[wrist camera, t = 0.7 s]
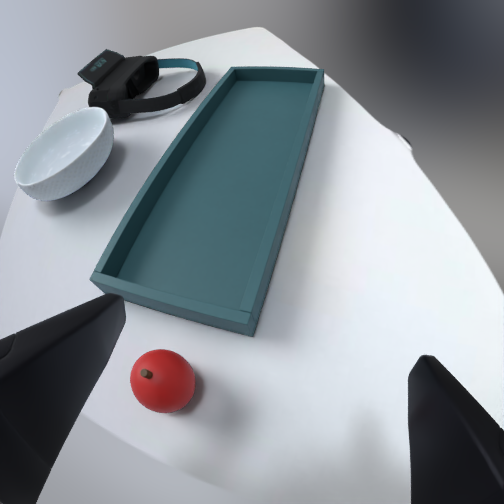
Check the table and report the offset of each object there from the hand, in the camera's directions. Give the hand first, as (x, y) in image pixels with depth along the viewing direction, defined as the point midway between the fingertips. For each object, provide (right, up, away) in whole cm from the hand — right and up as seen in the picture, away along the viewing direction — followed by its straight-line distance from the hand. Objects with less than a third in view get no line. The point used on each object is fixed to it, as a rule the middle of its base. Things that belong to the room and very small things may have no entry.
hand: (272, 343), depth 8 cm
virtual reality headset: (-19, +32, +44) cm, 57 cm away
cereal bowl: (-27, +14, +33) cm, 45 cm away
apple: (-7, -9, +15) cm, 19 cm away
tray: (-2, +14, +29) cm, 33 cm away
